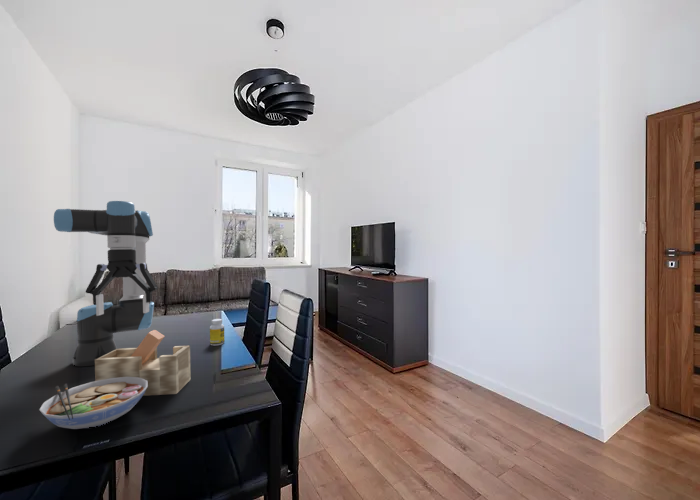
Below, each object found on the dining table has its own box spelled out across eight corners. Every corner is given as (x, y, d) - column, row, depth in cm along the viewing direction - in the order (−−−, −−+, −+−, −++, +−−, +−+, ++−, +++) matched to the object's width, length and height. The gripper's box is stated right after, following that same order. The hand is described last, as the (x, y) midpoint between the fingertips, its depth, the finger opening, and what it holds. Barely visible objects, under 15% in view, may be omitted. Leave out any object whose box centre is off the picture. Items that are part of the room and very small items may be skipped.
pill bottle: (219, 346, 150) (218, 321, 150) (207, 345, 151) (206, 321, 151) (227, 342, 156) (226, 318, 156) (215, 341, 157) (215, 318, 157)
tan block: (121, 390, 103) (110, 383, 103) (128, 385, 107) (118, 378, 107) (159, 339, 104) (148, 332, 104) (164, 336, 108) (154, 329, 108)
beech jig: (95, 398, 99) (94, 359, 99) (118, 383, 110) (117, 348, 110) (176, 393, 101) (175, 356, 101) (190, 379, 112) (189, 345, 112)
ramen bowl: (159, 421, 85) (159, 391, 85) (40, 463, 69) (39, 425, 69) (138, 392, 103) (137, 366, 103) (39, 420, 87) (38, 390, 87)
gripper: (70, 249, 98) (72, 318, 99) (158, 248, 103) (160, 313, 103) (86, 249, 106) (87, 313, 106) (167, 248, 110) (169, 309, 111)
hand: (123, 313), depth 105 cm, fingers open, 13 cm apart
